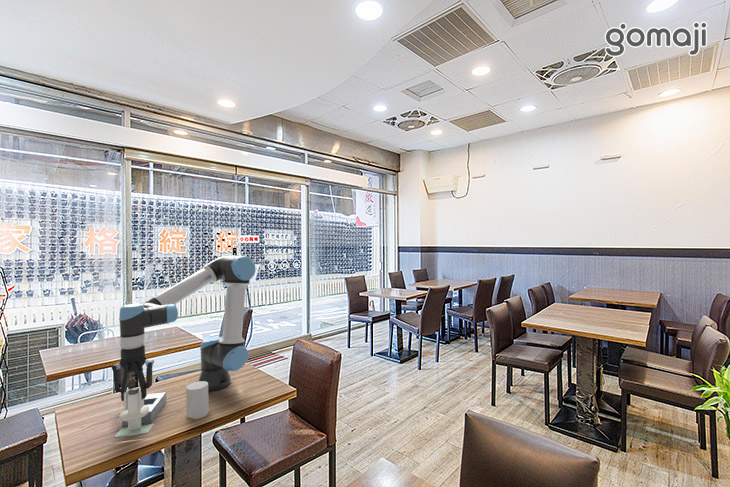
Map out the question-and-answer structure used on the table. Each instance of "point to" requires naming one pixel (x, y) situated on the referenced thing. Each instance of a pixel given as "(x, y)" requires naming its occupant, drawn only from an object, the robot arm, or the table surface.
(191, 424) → the table surface
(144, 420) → the socket block
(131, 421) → the plug
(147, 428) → the mat
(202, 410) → the cup
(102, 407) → the table surface
